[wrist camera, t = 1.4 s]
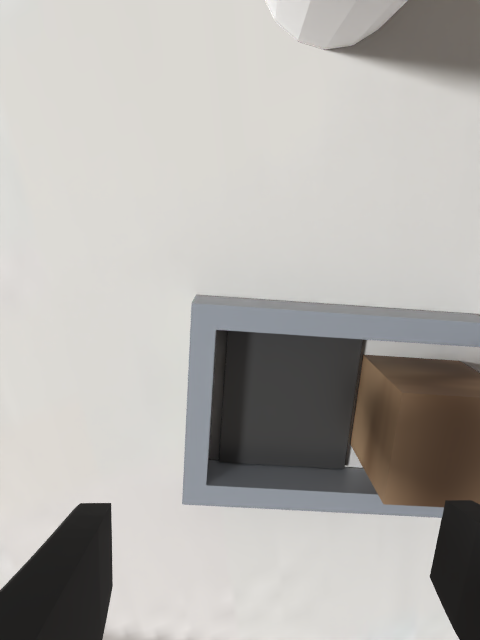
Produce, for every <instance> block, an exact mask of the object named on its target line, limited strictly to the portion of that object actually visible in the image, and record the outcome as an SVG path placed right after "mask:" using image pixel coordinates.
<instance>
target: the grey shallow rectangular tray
mask: <svg viewBox="0 0 480 640" xmlns="http://www.w3.org/2000/svg"><path fill="white" fill-rule="evenodd" d="M217 330H228V339H227V353H226V368H225V383H224V397H223V412H222V427H221V442H220V456H219V460H209V449H210V433H211V417H212V401H213V385H214V369H215V352H216V336H217ZM363 339H365V340H380V341H395V342H410V343H425V344H441V345H456V346H471V347H480V316H479V315H476V314H467V313H453V312H438V311H424V310H409V309H395V308H380V307H365V306H351V305H336V304H322V303H307V302H292V301H278V300H263V299H249V298H234V297H219V296H205V295H196V296H195V298H194V300H193V302H192V308H191V329H190V350H189V372H188V393H187V414H186V435H185V457H184V478H183V499H182V504H185V505H205V506H224V507H243V508H263V509H282V510H302V511H321V512H340V513H360V514H379V515H399V516H418V517H437V518H442V515H443V510H444V507H425V506H405V505H385V504H383V503H382V501H381V499H380V497H379V496H378V494H377V492H376V490H375V488H374V486H373V485H372V483H371V481H370V479H369V477H368V475H367V474H366V472H365V470H364V468H347V467H344V466H345V459H346V452H347V445H348V438H349V431H350V424H351V417H352V410H353V403H354V396H355V389H356V382H357V375H358V368H359V361H360V355H361V348H362V341H363Z"/></svg>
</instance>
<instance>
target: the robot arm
mask: <svg viewBox="0 0 480 640" xmlns="http://www.w3.org/2000/svg"><path fill="white" fill-rule="evenodd" d="M430 578H431V581H432V583H433V585H434V588H435V590H436V592H437V594H438V597H439V599H440V601H441V603H442V606H443V608H444V610H445V612H446V614H447V616H448V618H449V620H450V622H451V624H452V626H453V629H454V630H455V632H456V634H457V636H458V637H459V639H460V640H480V504H478V503H476V502H474V501H472V500H445V505H444V510H443V515H442V520H441V525H440V530H439V535H438V540H437V545H436V549H435V554H434V559H433V564H432V569H431V574H430ZM112 586H113V584H112V529H111V503H80V504H79V505H78V506H77V507H76V508H75V509H74V510H73V511H72V512H71V513H70V514H69V515H68V517H67V518H66V519H65V520H64V521H63V522H62V524H61V525H60V526H59V527H58V528H57V529H56V530H55V532H54V533H53V534H52V535H51V536H50V537H49V538H48V539H47V541H46V542H45V543H44V544H43V545H42V546H41V547H40V548H39V549H38V551H37V552H36V553H35V554H34V555H33V556H32V557H31V558H30V559H29V560H28V562H27V563H26V564H25V565H24V566H23V567H22V568H21V569H20V570H19V571H18V572H17V573H16V574H15V575H14V576H13V577H12V579H11V580H10V581H9V582H8V583H7V584H6V585H5V586H4V587H3V588H2V589H1V590H0V640H102V638H103V633H104V628H105V623H106V618H107V613H108V607H109V602H110V597H111V591H112Z"/></svg>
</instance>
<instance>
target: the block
mask: <svg viewBox="0 0 480 640" xmlns="http://www.w3.org/2000/svg"><path fill="white" fill-rule="evenodd" d="M350 444H351V446H352V448H353V450H354V452H355V453H356V455H357V457H358V459H359V461H360V463H361V464H362V466H363V468H364V470H365V472H366V474H367V475H368V477H369V479H370V481H371V483H372V485H373V486H374V488H375V490H376V492H377V494H378V496H379V497H380V499H381V501H382V503H383V504H385V505H405V506H425V507H444V505H445V500H472V501H474V502H476V503H478V504H480V373H479V372H477V371H476V370H474V369H472V368H471V367H469V366H467V365H466V364H464V363H462V362H460V361H454V360H438V359H422V358H406V357H390V356H375V355H363V359H362V366H361V373H360V380H359V386H358V393H357V400H356V407H355V414H354V421H353V428H352V435H351V442H350Z"/></svg>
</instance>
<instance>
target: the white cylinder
mask: <svg viewBox="0 0 480 640" xmlns="http://www.w3.org/2000/svg"><path fill="white" fill-rule="evenodd" d="M407 1H408V0H265V2H266V4H267V6H268V8H269V10H270V12H271V14H272V16H273V18H274V20H275V22H276V23H277V24H278V25H280V26H281V27H282V28H283V29H284V30H285V31H286V32H287V33H289V34H290V35H291V36H292V37H293V38H294V39H295V40H296V41H298V42H301V43H304V44H307V45H311V46H314V47H317V48H320V49H324V50H326V49H333V48H340V47H347V46H353V45H355V44H356V43H358V42H359V41H361V40H362V39H364V38H366V37H367V36H369V35H370V34H372V33H374V32H375V31H377V30H378V29H379V28H380V27H381V26H382V25H383V24H384V23H385V22H386V21H387V20H388V19H390V18H391V17H392V16H393V15H394V14H395V13H396V12H397V11H398V10H399V9H400V8H401V7H402V6H403V5H404V4H405V3H406V2H407Z"/></svg>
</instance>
